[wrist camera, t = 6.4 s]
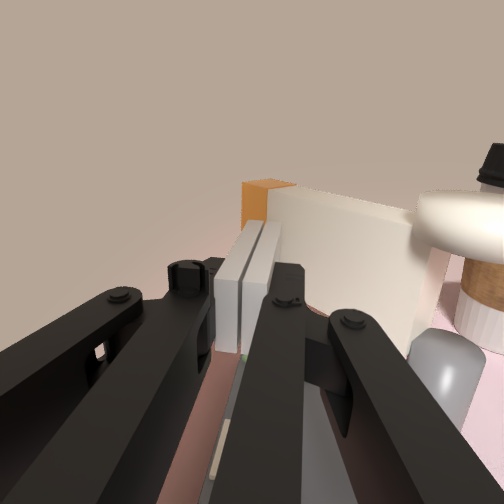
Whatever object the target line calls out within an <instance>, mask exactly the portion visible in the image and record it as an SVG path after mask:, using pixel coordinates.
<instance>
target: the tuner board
mask: <svg viewBox="0 0 504 504" xmlns="http://www.w3.org/2000/svg"><path fill="white" fill-rule="evenodd" d="M247 357H248V355H244V354H241V357H240V360H239V363H238V367H237V370H236V374H235V377H234V381H233V384H232V388H231V391H230V394H229V398H228V401H227V405H226V408H225V412H224V415H223V418H222V422H221V425H220V429H219V432H218V436H217V439H216V443H215V446H214V449H213V453H212V456H211V460H210V463H209V467H208V470H207V473H206V477H205V480H204V484H203V487H202V491H201V494H200V497H199V501H198V504H208V503H209V499H210V495H211V492H212V488H213V484H214V480H215V477H216V473H217V469H218V465H219V462H220V458H221V454H222V450H223V447H224V443H225V439H226V435H227V432H228V428H229V424H230V420H231V417H232V413H233V409H234V405H235V402H236V398H237V394H238V391H239V387H240V383H241V379H242V376H243V372H244V368H245V364H246V361H247ZM301 504H358V503H357V500H356V497H355V494H354V492H353V489H352V486H351V483H350V480H349V477H348V474H347V471H346V468H345V465H344V462H343V460H342V457H341V454H340V451H339V448H338V445H337V442H336V439H335V436H334V433H333V431H332V428H331V425H330V422H329V419H328V416H327V413H326V410H325V407H324V404H323V402H322V399H321V396H320V387H318V386H315V385H313V384H310V383H308V382H305V381H304V407H303V447H302V487H301Z"/></svg>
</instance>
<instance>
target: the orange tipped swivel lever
mask: <svg viewBox="0 0 504 504" xmlns="http://www.w3.org/2000/svg"><path fill="white" fill-rule="evenodd" d="M241 216H242V217H241V218H242V219H241V231H242V230H243V228H244V226H245V225H246V223H247V221H248V220H262V221H264V226H265V223H266V221H276V222H282V231H281V246H280V261H279V262H283V263H295V264H300V265H301V266H302V267H303V268H304V269H305V302H306V304H308V305H310V306H312V307H314V308H315V309H317V310H319V311H321V312H323V313H325V314H326V315H328V316H330V315H331V313H332V312H334V311H336V310H338V309H345V308H346V309H357V310H360V311H363V312H365V313H367V314H369V315H371V316H372V317H373V318H374V319H375V320H376V321H377V322H378V323H379V325H380V326H381V327H382V329H383V330H384V332H385V333H386V334H387V336H388V337H389V338H390V340H391V341H392V342H393V344H394V345H395V346H396V348H397V349H398V350H399V352H400V353H401V354H402V356H403V357H406V356H407V359H406V361H407V362H408V364H409V365H410V366H411V368H412V369H413V370H414V372H415V373H416V374H417V376H418V377H419V378H420V380H421V381H422V382H423V384H424V385H425V386H426V388H427V389H428V390H429V392H430V393H431V394H432V396H433V397H434V398H435V400H436V401H437V402H438V404H439V405H440V406H441V408H442V409H443V410H444V412H445V413H446V414H447V416H448V417H449V418H450V420H451V421H452V423H453V424H454V425H455V427H456V428H457V429H458V431H459V432H461V429H462V426H463V424H464V421H465V418H466V416H467V413H468V410H469V407H470V405H471V402H472V399H473V396H474V394H475V391H476V388H477V385H478V383H479V380H480V377H481V374H482V372H483V369H484V366H485V363H486V357H485V354H484V353H483V351H482V350H481V349H480V348H479V347H478V346H477V345H476V344H474V343H473V342H472V341H470V340H468V339H467V338H465V337H463V336H461V335H458V334H456V333H453V332H450V331H447V330H442V329H436V328H431V325H432V322H433V318H434V314H435V311H436V307H437V303H438V300H439V296H440V292H441V289H442V285H443V281H444V277H445V274H446V270H447V267H448V263H449V259H450V255H451V254H455V255H458V256H462V257H466V258H470V259H475V260H480V261H485V262H490V263H497V264H504V195H503V194H496V193H487V192H477V191H461V190H436V191H428V192H424V193H421V194H420V195H419V199H418V203H417V208H416V212H414V211H410V210H405V209H401V208H396V207H392V206H387V205H383V204H378V203H373V202H369V201H364V200H360V199H355V198H351V197H346V196H342V195H337V194H333V193H328V192H324V191H319V190H314V189H310V188H306V187H301V186H297V185H296V184H292V183H288V182H283V181H279V180H275V179H264V180H256V181H248V182H242V214H241ZM263 228H264V227H263Z"/></svg>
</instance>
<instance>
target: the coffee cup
mask: <svg viewBox="0 0 504 504" xmlns="http://www.w3.org/2000/svg"><path fill="white" fill-rule="evenodd" d="M479 173H480V174H479V176H478V177H477V181H479V182H481V183H482V184H481V189H480V192H487V193H496V194H503V195H504V144H503V143H493V144H492V146H491V148H490V150H489V152H488V154H487V157H486V159H485V162H484V164H483V166H482V168H480V169H479ZM454 326H455V328H456V330H457V331H458V332H459V333H460V334H461V335H462V336H463V337H465V338H467V339H468V340H470V341H472V342H473V343H474V344H476V345H477V346H479V347H482V348H484V349H486V350H489V351H492V352H495V353H498V354H502V355H504V264H497V263H490V262H485V261H480V260H475V259H470V258H466V257H465V261H464V267H463V273H462V279H461V288H460V293H459V298H458V303H457V308H456V313H455V318H454Z"/></svg>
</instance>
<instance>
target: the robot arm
mask: <svg viewBox="0 0 504 504" xmlns="http://www.w3.org/2000/svg"><path fill="white" fill-rule="evenodd" d="M263 227H264V228H263ZM281 231H282V222H276V221H266V223H265V226H264V221H262V220H248V221H247V223H246V225H245V226H244V228H243V230H242V231H241V233H240V235H239V236H238V238H237V240H236V241H235V243H234V245H233V247H232V248H231V250H230V252H229V253H228V255H227V257H226V258H217V257H210V258H208V259H206V260H204V261H197V260H182V261H177V262H174V263H172V264H170V265H169V266H168V281H169V291H168V292H167V293H166V295H165V296H164V297H163V298H162V299H154V300H143V299H142V293H141V291H140V290H138V289H136V288H133V287H126V286H123V287H116V288H114V289H110V290H107V291H105V292H103V293H101V294H99V295H98V296H96V297H94V298H93V299H91V300H89V301H87V302H86V303H84V304H82V305H80V306H79V307H77V308H75V309H73V310H72V311H70V312H68V313H67V314H65V315H63V316H62V317H60V318H58V319H56V320H55V321H53V322H51V323H49V324H48V325H46V326H44V327H42V328H41V329H39V330H37V331H36V332H34V333H32V334H30V335H29V336H27V337H25V338H24V339H22V340H20V341H18V342H17V343H15V344H13V345H11V346H10V347H8V348H6V349H5V350H3V351H1V352H0V504H156V502H157V500H158V497H159V494H160V492H161V489H162V487H163V484H164V481H165V479H166V476H167V474H168V471H169V468H170V466H171V463H172V460H173V458H174V455H175V453H176V450H177V447H178V445H179V442H180V440H181V437H182V434H183V432H184V429H185V427H186V424H187V421H188V419H189V416H190V413H191V411H192V408H193V406H194V403H195V400H196V398H197V395H198V393H199V390H200V387H201V385H202V382H203V380H204V377H205V374H206V372H207V369H208V367H209V364H210V361H211V346H212V343H213V341H214V339H215V351H220V352H228V353H236V354H237V351H238V348H239V345H240V341H241V354H244V355H248V357H247V361H246V364H245V368H244V372H243V376H242V379H241V383H240V387H239V391H238V394H237V398H236V402H235V405H234V409H233V413H232V417H231V420H230V424H229V428H228V432H227V435H226V439H225V443H224V447H223V450H222V454H221V458H220V462H219V465H218V469H217V473H216V477H215V480H214V484H213V488H212V492H211V495H210V499H209V503H208V504H301V487H302V447H303V407H304V381H305V382H308V383H310V384H313V385H315V386H318V387H320V396H321V399H322V402H323V404H324V407H325V410H326V413H327V416H328V419H329V422H330V425H331V428H332V431H333V433H334V436H335V439H336V442H337V445H338V448H339V451H340V454H341V457H342V460H343V462H344V465H345V468H346V471H347V474H348V477H349V480H350V483H351V486H352V489H353V492H354V494H355V497H356V500H357V503H358V504H504V491H503V489H502V488H501V487H500V485H499V484H498V483H497V481H496V480H495V479H494V477H493V476H492V475H491V473H490V472H489V471H488V469H487V468H486V467H485V465H484V464H483V463H482V461H481V460H480V459H479V457H478V456H477V455H476V453H475V452H474V451H473V449H472V448H471V447H470V445H469V444H468V443H467V441H466V440H465V439H464V437H463V436H462V435H461V433H460V432H459V431H458V429H457V428H456V427H455V425H454V424H453V423H452V421H451V420H450V418H449V417H448V416H447V414H446V413H445V412H444V410H443V409H442V408H441V406H440V405H439V404H438V402H437V401H436V400H435V398H434V397H433V396H432V394H431V393H430V392H429V390H428V389H427V388H426V386H425V385H424V384H423V382H422V381H421V380H420V378H419V377H418V376H417V374H416V373H415V372H414V370H413V369H412V368H411V366H410V365H409V364H408V362H407V361H406V360H405V358H404V357H403V356H402V354H401V353H400V352H399V350H398V349H397V348H396V346H395V345H394V344H393V342H392V341H391V340H390V338H389V337H388V336H387V334H386V333H385V332H384V330H383V329H382V327H381V326H380V325H379V323H378V322H377V321H376V320H375V319H374V318H373V317H372V316H371V315H369V314H367V313H365V312H363V311H360V310H357V309H346V308H345V309H338V310H336V311H334V312H332V313H331V315H330V316H329V318H328V317H324V316H321V315H319V314H316V313H314V312H313V311H311V310H310V309H309V308H308V307H307V306H306V302H305V269H304V268H303V267H302V266H301V265H300V264H295V263H283V262H279V261H280V246H281ZM102 343H103V345H104V351H105V354H104V355H103V356H102V357H100V358H98V359H97V358H96V355H95V348H96V347H98V346H99V345H100V344H102Z"/></svg>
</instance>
